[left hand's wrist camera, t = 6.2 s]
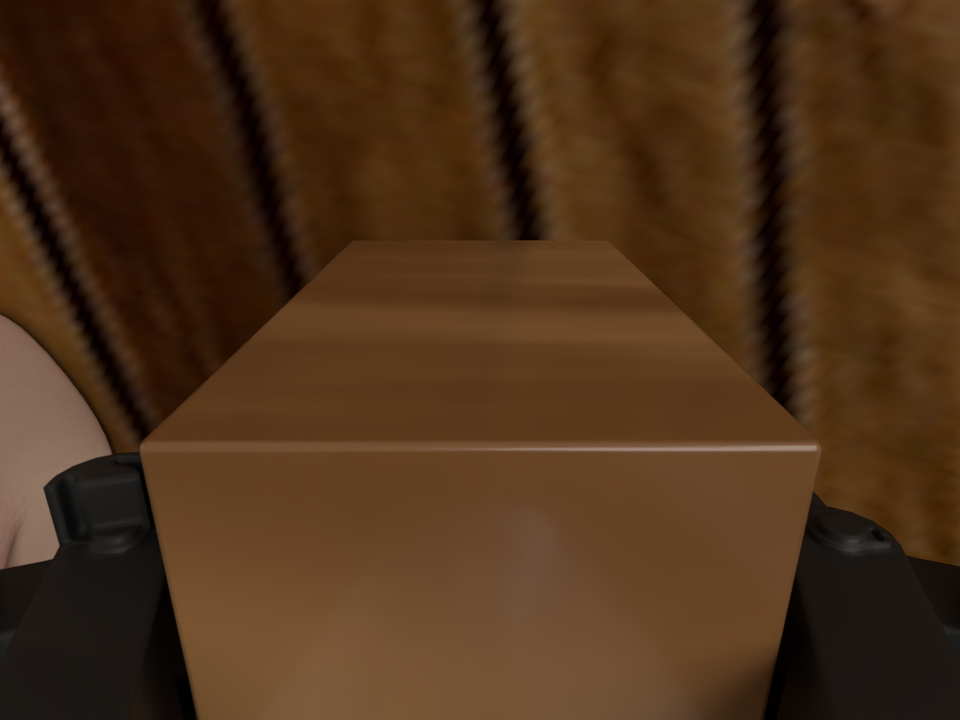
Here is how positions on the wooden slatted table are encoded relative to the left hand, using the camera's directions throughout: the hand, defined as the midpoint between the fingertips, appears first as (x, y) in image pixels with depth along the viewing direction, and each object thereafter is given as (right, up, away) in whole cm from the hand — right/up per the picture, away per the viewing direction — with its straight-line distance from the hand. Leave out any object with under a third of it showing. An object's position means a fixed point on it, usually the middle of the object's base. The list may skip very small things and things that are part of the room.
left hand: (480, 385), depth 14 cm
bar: (0, -10, +4) cm, 11 cm away
